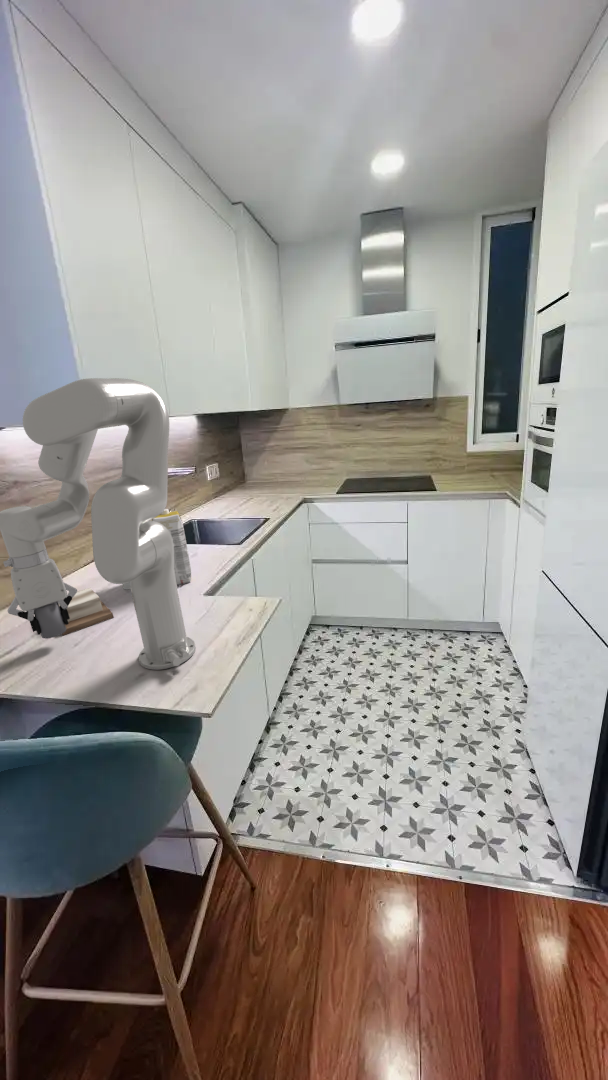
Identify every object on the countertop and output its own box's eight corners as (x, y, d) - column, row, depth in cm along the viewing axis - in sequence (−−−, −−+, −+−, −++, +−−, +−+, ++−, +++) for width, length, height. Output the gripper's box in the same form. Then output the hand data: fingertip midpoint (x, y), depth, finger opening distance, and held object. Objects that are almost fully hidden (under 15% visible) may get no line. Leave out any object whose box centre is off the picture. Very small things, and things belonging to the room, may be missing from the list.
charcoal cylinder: (68, 631, 108) (59, 602, 106) (43, 641, 105) (33, 611, 103) (63, 624, 113) (55, 596, 110) (40, 633, 109) (30, 604, 107)
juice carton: (191, 574, 148) (178, 505, 141) (193, 582, 141) (181, 510, 134) (162, 580, 146) (148, 510, 138) (164, 589, 138) (149, 515, 131)
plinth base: (113, 617, 122) (109, 599, 121) (62, 635, 115) (57, 616, 113) (96, 598, 136) (91, 582, 134) (49, 613, 128) (44, 596, 127)
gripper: (-12, 574, 95) (14, 647, 101) (73, 551, 105) (92, 619, 111) (-15, 567, 101) (10, 636, 106) (66, 546, 111) (85, 610, 116)
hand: (52, 627), depth 108 cm, fingers closed on charcoal cylinder, 5 cm apart
